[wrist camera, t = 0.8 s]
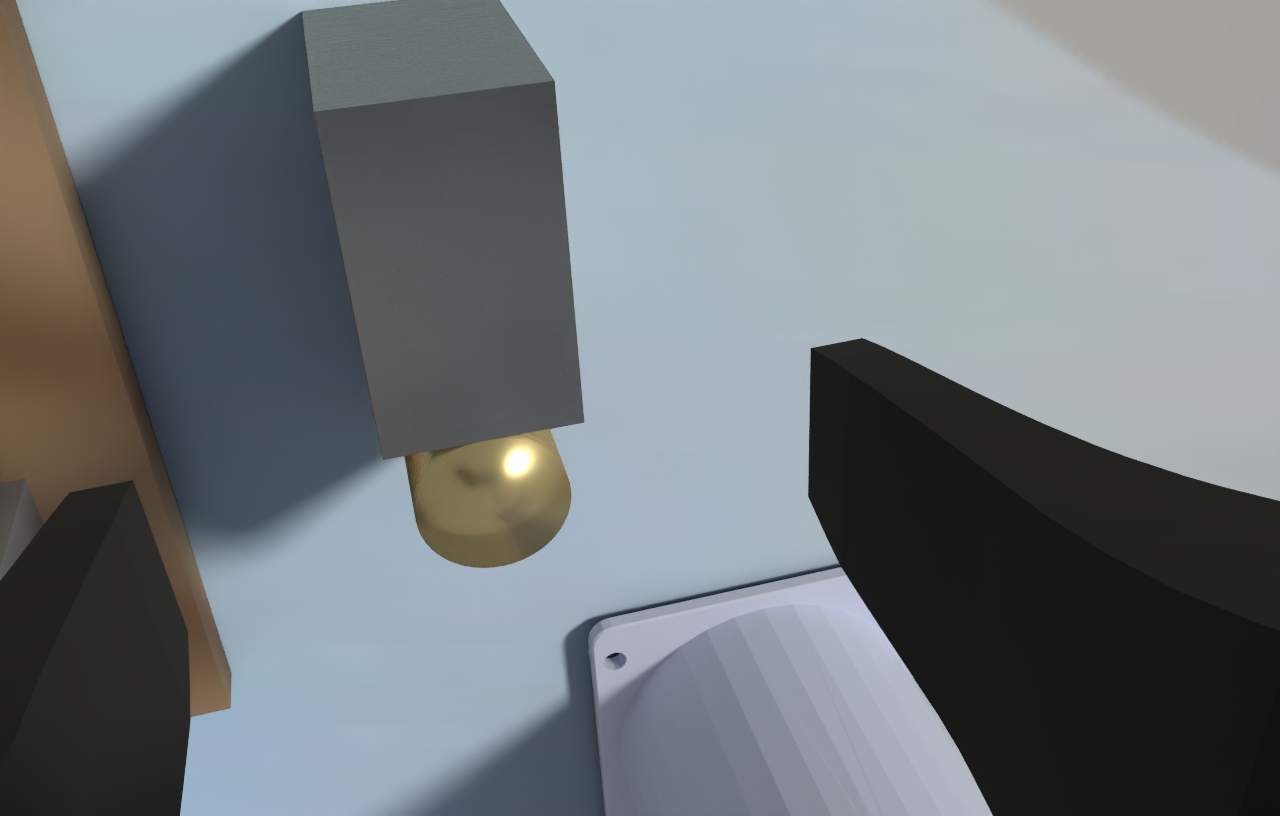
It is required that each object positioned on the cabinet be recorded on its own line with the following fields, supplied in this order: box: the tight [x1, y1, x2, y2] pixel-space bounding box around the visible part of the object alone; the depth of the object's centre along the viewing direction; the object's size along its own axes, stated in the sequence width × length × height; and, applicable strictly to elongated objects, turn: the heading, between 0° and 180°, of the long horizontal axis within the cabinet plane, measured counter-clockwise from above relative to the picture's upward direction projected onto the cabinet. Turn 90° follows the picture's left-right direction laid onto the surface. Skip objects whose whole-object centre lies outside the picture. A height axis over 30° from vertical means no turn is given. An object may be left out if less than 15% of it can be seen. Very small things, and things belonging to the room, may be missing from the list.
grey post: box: [302, 0, 584, 568], centre depth 19 cm, size 8×3×5 cm, turn 3°
